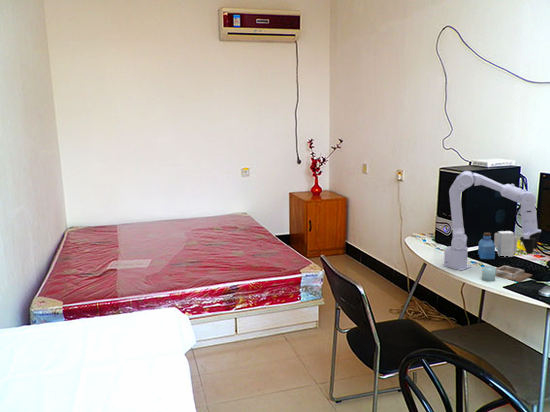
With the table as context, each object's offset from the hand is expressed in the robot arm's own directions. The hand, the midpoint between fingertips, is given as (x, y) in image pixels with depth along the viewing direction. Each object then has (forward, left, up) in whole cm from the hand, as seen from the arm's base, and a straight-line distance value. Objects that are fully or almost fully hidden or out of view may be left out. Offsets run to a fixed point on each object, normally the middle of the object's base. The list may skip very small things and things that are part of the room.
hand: (531, 250), depth 187 cm
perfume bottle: (-24, +8, -11) cm, 28 cm away
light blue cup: (-8, -19, -10) cm, 23 cm away
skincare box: (-19, +16, -10) cm, 27 cm away
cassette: (-24, +26, -11) cm, 37 cm away
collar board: (-5, -8, -10) cm, 14 cm away
